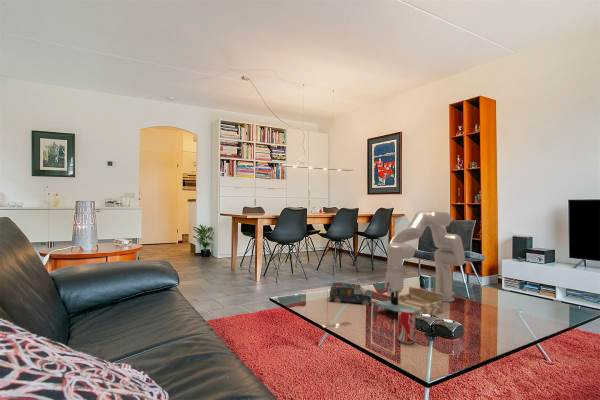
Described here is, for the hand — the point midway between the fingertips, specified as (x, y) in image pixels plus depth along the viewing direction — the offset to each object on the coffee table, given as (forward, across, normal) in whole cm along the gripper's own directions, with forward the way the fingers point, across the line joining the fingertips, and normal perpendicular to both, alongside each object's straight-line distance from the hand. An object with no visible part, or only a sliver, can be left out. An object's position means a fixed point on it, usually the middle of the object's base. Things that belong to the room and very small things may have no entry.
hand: (394, 304), depth 171 cm
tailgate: (+3, -8, 0) cm, 9 cm away
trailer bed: (+6, -18, 0) cm, 20 cm away
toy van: (+7, 0, -32) cm, 32 cm away
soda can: (+6, +22, +23) cm, 33 cm away
